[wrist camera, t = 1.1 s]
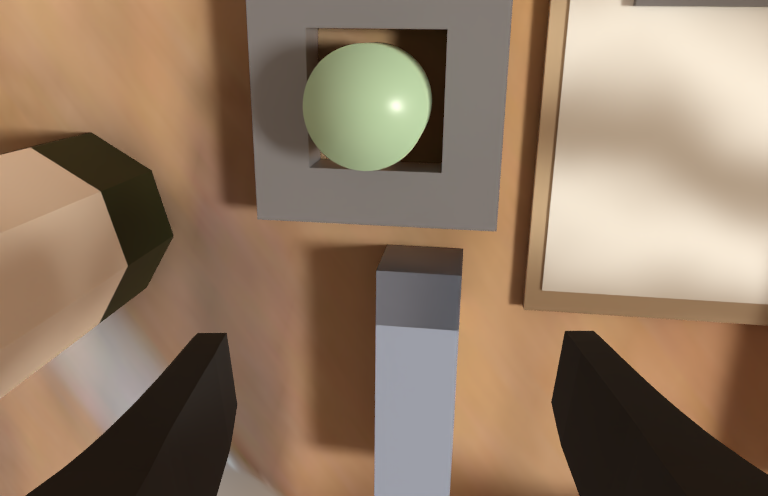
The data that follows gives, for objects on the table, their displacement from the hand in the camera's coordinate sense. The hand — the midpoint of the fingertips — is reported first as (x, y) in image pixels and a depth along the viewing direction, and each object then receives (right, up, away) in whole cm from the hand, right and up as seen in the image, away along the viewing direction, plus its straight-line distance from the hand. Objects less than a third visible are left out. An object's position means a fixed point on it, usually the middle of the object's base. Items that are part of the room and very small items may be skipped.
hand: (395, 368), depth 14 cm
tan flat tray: (+12, +6, +12) cm, 18 cm away
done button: (-1, +8, +11) cm, 14 cm away
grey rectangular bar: (+2, -3, +17) cm, 17 cm away
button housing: (0, +9, +13) cm, 16 cm away
